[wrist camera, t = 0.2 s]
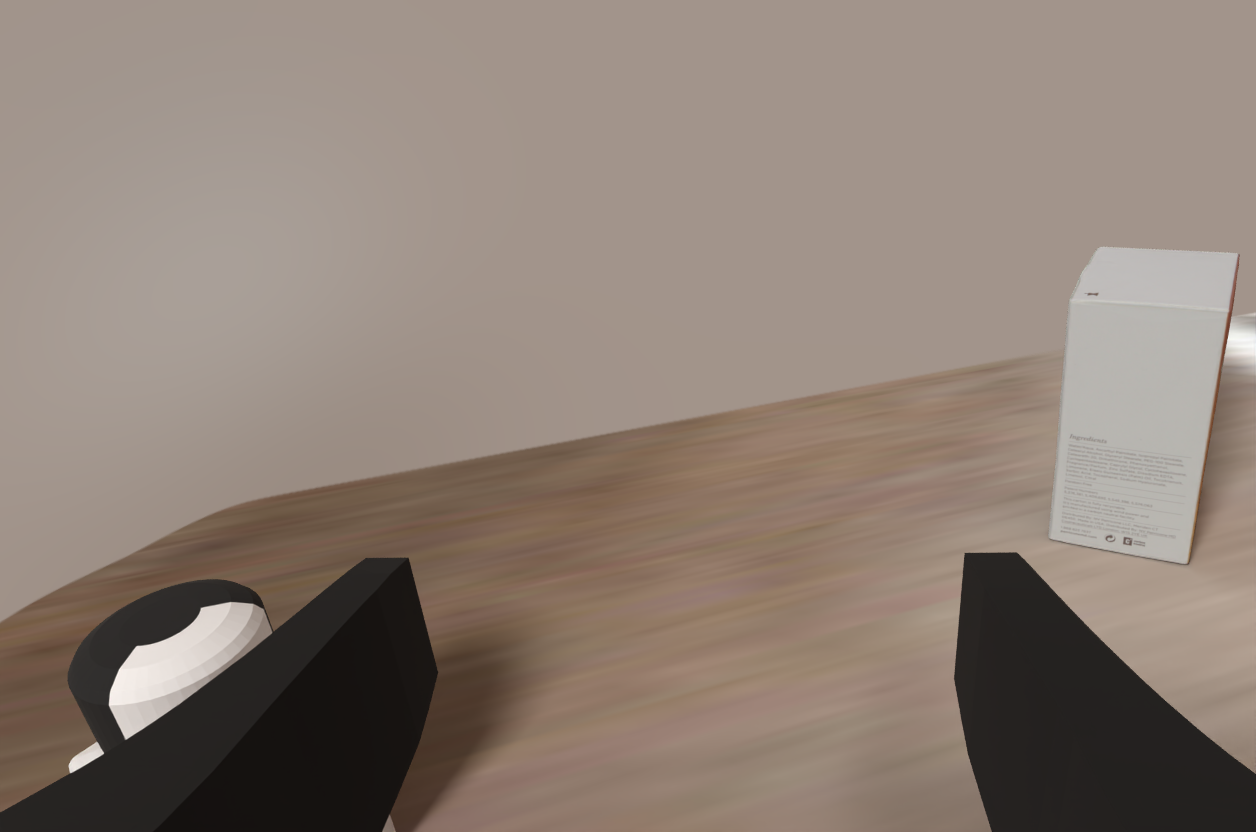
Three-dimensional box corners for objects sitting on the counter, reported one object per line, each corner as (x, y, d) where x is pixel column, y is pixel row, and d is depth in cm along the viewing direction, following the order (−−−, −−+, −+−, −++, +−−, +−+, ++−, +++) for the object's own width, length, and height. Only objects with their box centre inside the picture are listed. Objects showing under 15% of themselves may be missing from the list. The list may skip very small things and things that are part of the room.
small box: (1190, 569, 44) (1232, 309, 38) (1045, 541, 47) (1064, 298, 42) (1203, 485, 50) (1241, 249, 44) (1073, 465, 53) (1094, 244, 47)
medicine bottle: (136, 898, 35) (0, 649, 30) (296, 769, 40) (204, 536, 35) (238, 1002, 31) (102, 733, 26) (403, 844, 36) (317, 591, 30)
